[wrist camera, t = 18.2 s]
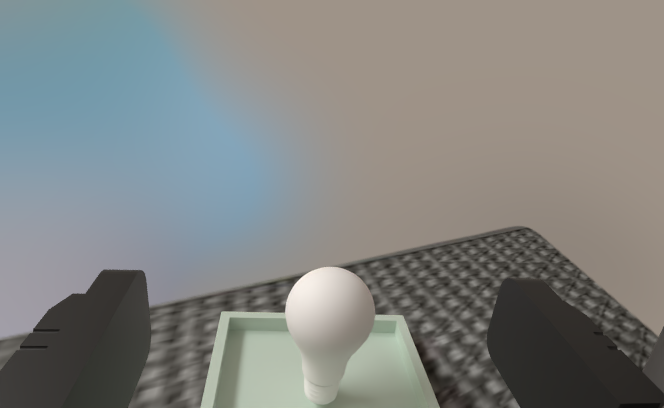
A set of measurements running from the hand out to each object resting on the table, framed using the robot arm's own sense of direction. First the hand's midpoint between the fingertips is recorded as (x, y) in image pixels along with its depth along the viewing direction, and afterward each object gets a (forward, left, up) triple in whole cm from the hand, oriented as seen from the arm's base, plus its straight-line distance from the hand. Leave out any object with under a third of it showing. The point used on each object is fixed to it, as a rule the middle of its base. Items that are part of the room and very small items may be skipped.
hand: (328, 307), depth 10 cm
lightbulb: (-3, -16, -20) cm, 26 cm away
